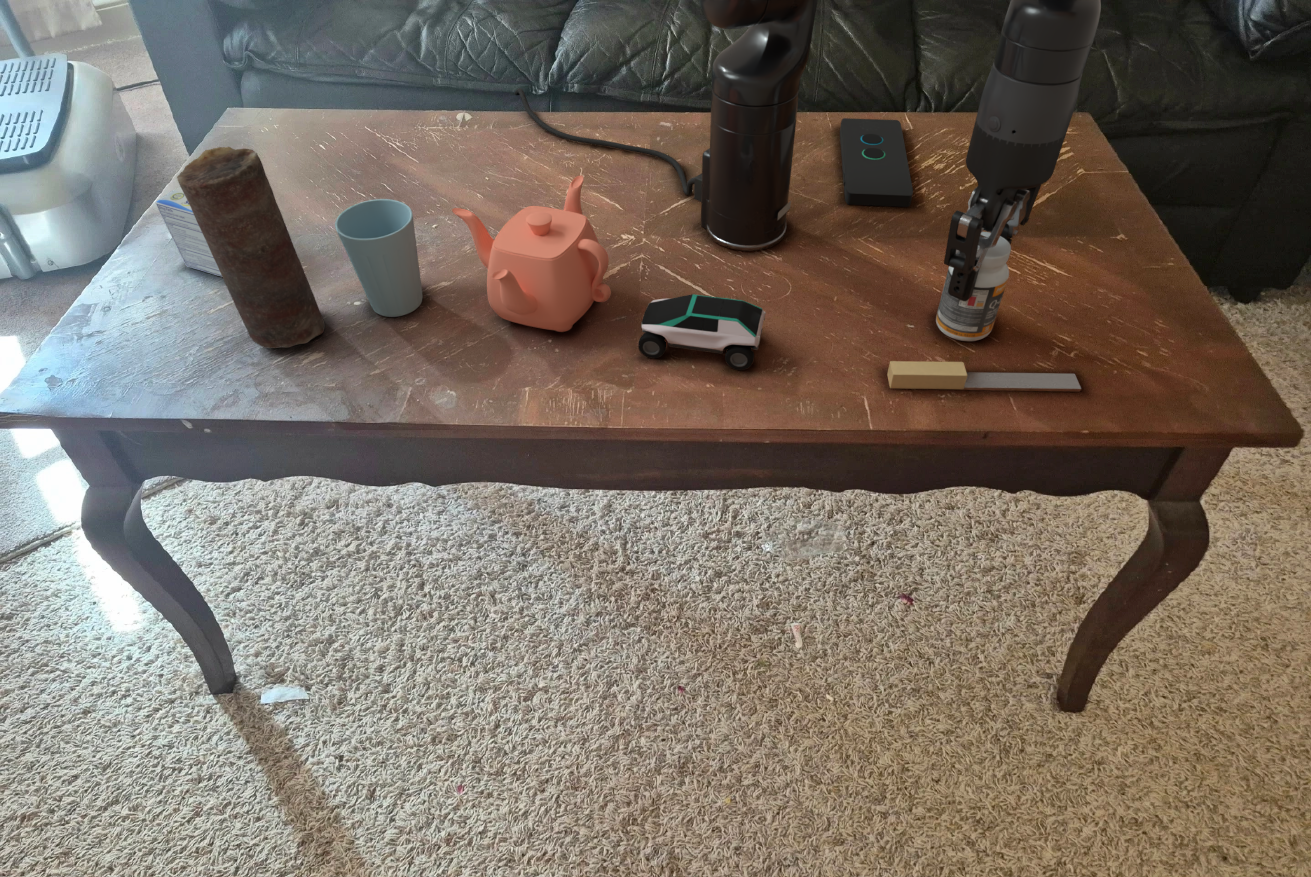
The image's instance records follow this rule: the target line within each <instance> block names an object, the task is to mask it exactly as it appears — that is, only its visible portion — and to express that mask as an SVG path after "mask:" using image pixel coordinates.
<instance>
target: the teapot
mask: <svg viewBox="0 0 1311 877" xmlns="http://www.w3.org/2000/svg"><path fill="white" fill-rule="evenodd" d="M584 180H585V179H584V176H583V175H577V176H575V177H574V178H573V179H572V181H570V184H569V186H568V188H567V193H566V197H565V200H564V206H563V209H559V208H554V207H547V206H541V205H528V206H526V207H524V208H522V209H521V210H519V211H518V212H517V213H515V214H514V215H513V216H512V217H511V218H510V219H509V220H507V222H506V223H505V224H504V225H503V227H501V229H500V230H499V231H498V233H497V234H496V236H495V238H493V237H492V236H491V235H490V233H489V231H488V230H487V228H486V226H485V224H484V223H483V221H482V220H481V219H480V218H479V217H478V216H477V215H476V214H475V213H474V212H472V211H470V210H468V209H465V208H460V207H454V208H452V209H451V212H452V213H453V214H454V215H456V216H457V217H458V218H460V219H461V221H463V222H464V224H465V225H466V226H467V228H468V230H469V232H470V235H471V237H472V241H473V244H474V247H475V251H476V254H477V256H478V258H479V260H480V262H481V263H482V265H483V266H484V267H485V269H487V273H486V274H487V275H486V276H487V277H486V290H487V300H488V302H489V306H490V307H491V310H493V311H494V313H495V314H496V315H497V316H498V317H499V318H501V319H502V320H503V319H504V320H506V321H509V322H512V323H516V324H519V325H523V326H527V327H531V328H532V327H533V328H538V329H543V330H549V331H555V332H559V333H564V332H569V331H570V330H571V329H572V328H573V325H574V324H575V323H577V322H578V321H579V320H580V319H581V318H582V317H583V316H584V315H585V314H586V313H587V312H588V311H589V309H590V308H591V307H592V305H593V304H594V302H596V303H604V302H606V301H608V300H609V298H610V297H611V293H612V290H611V288H610V286H609V285H608V284H606V283H603V281H604V277H605V275H606V273H607V270H608V267H609V262H610V260H609V259H610V258H609V254H608V251H607V250H606V248H605V247H603V245H601V244H600V242H599V240H598V237H597V235H596V233H595V231H594V228H593V226H592V224H591V222H590V221H589V218H588V217H587V216H585V215H584V214H583V208H582V202H581V196H582V194H581V193H582V188H583V184H584Z"/></svg>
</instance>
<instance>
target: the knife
mask: <svg viewBox="0 0 1311 877" xmlns="http://www.w3.org/2000/svg"><path fill="white" fill-rule="evenodd" d="M886 375H887V379H888V385H889V388H890V389H909V390H910V389H912V390H963V391H999V392H1000V391H1001V392H1002V391H1004V392H1005V391H1006V392H1009V391H1010V392H1016V391H1017V392H1072V393H1073V392H1076V393H1077V392H1078V393H1080V392H1081V391H1082V386H1081V385H1080V383H1079V382H1080V381H1079V380H1078V378H1077V376H1076V374H1075V373H1060V372H1059V373H1055V372H1054V373H1053V372H1052V373H1051V372H1050V373H1049V372H1048V373H1047V372H982V371H981V372H979V371H978V372H977V371H976V372H975V371H974V372H973V371H967V369H966V366H965V363H964V362H963V361H922V360H921V361H918V360H917V361H916V360H915V361H913V360H912V361H907V360H906V361H905V360H890V361H889V365H888V370H887V374H886Z"/></svg>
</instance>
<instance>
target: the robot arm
mask: <svg viewBox="0 0 1311 877" xmlns="http://www.w3.org/2000/svg"><path fill="white" fill-rule="evenodd" d="M697 1H698V5H699V8H700V10H701V13H702V14H703V16H704V18H705V19H706V20H707V21H708V23H710V24H712V25H713V26H714V27H717V28H720V29H723V30H724V29H725V30H737V29H738V30H739V29H745V28H747V29H746V31H744V32H743V34H742V35H741V36H740V37H738V38H737V39H736V40H735V41H734V42H733V43H731V44H730V45H728V46H727V47H726V48H724V49H723V50H722V51H720V52H719V53H718V54H717V56H716V57H715V58H714V61H713V63H712V66H711V80H710V81H711V83H710V84H711V85H710V86H711V88H710V90H711V91H710V126H709V127H710V131H709V147H708V148H707V149H706V150H704V151H703V153H702V156H701V157H702V158H701V159H702V160H701V173H699V174H698V175H696V176H695V177H691V178H689V179H688V180H687V178H686V174H685V172H684V170H683V168H682V166H681V165H680V163H679V162H678V161H677V160H676V159H675V158H673V156H670V155H669V154H667V153H664V152H661V151H658V150H655V149H651V148H647V147H641V146H635V145H629V144H624V143H619V142H614V141H609V140H603V139H597V138H590V137H584V136H577V135H573V134H569V133H566V132H563V131H560V130H558V129H556V128H553V127H551V126H550V125H549V124H547V123H546V122H544V121H543V120H542V119H541V118H539V116H538V115H537V114H536V113H535V112H534V111H533V110H532V109H531V107H530V104H529V102H528V100H527V97H526V96H527V95H526V94H525V92H524V90H523V89H522V88H520V87H519V88H517V89H516V90H515V91H514V95H515V96H519V97H520V100H521V103H522V105H523V108H524V110H525V112H526V114H527V115H528V116H529V117H530V118H531V119H532V120H533V121H534V123H536V124H537V125H538V126H539V127H540V128H542V130H545V131H546V132H548V133H550V134H551V135H553V136H556V137H559V138H561V139H563V140H568V141H571V142H576V143H581V144H588V145H595V146H602V147H606V148H612V149H617V150H622V151H626V152H632V153H639V154H643V155H647V156H654V157H656V158H658V159H661V160H664V161H665V162H667V163H669V164H670V165H672V166H673V167H674V169H675V170H676V172H677V174H678V177H679V180H680V182H681V186H682V190H683V193H684V195H686V196H691V195H692V194H693V199H694V200H695V201H698V202H699V203H700V204H701V206H700V227H702V228H704V229H705V230H706V232H707V235H708V237H709V238H710V239H711V240H712V241H714V242H715V243H717V244H718V245H720V246H721V247H724V248H727V249H730V250H736V251H746V252H751V251H752V252H753V251H761V250H765V249H768V248H771V247H774V246H775V245H777V244H779V243H780V242H781V241H782V240H783V239H784V237H785V236H786V233H787V215H788V211H789V210H790V209H791V205H792V204H791V203H792V201H791V200H790V201H789V196H790V186H791V177H792V166H793V158H794V156H793V155H794V148H795V137H796V126H797V117H798V116H797V115H798V106H799V96H800V87H801V86H800V85H801V78H802V76H803V73H804V71H805V70H806V67H807V66H808V65H807V64H808V62H809V57H810V52H811V44H812V38H813V31H814V25H815V19H816V13H817V6H818V0H697ZM1101 4H1102V3H1101V0H1010V2H1009V5H1008V8H1007V12H1006V14H1005V17H1004V20H1003V24H1002V28H1001V31H1000V35H999V39H998V42H997V48H996V51H995V55H994V60H993V63H992V66H991V69H990V71H989V74H988V76H987V78H986V80H985V84H984V87H983V89H982V93H981V98H980V100H979V106H978V109H977V113H976V117H975V121H974V125H973V128H972V132H971V137H970V140H969V145H968V149H967V153H966V157H965V166H966V168H967V170H968V171H969V173H970V174H971V175H972V176H973V177H974V179H975V180H976V182H977V186H976V187H975V188H974V189H973V190H972V193H971V194H970V197H969V198H968V202H967V206H968V208H967V210H966V212H964V211H961V210H958V209H957V210H955V211H954V213H953V214H952V215H951V218H950V223H949V224H950V225H949V230H948V235H947V236H948V237H947V241H946V248H945V253H944V260H943V264H944V265H946V266H948V267H949V266H950V267H952V268H954V269H953V273H952V277H951V280H950V284H949V288H948V293H949V294H950V295H951V296H953V297H955V298H957V299H960V300H962V301H967V300H968V299H969V298H970V297H971V296H972V294H973V290H974V287H975V283H976V280H977V276H978V273H979V270H980V267H981V265H982V262H983V260H984V257H985V255H986V253H987V251H988V249H989V248H993V247H995V246H996V244H997V242H998V239H999V237H1000V236H1001V237H1003V238H1004V239H1006V240H1007V241H1008V242H1009V244H1010V245H1011V244H1012V241H1013V240H1014V239H1015V238H1016V237H1017V236H1018V234H1019V232H1020V231H1019V230H1020V226H1023V227H1024V226H1025V225H1026V224H1027V223H1028V221H1029V220H1030V216H1031V214H1032V210H1033V209H1034V208H1033V207H1034V205H1035V202H1036V201H1037V197H1038V194H1039V193H1040V189H1041V187H1042V185H1043V184H1045V183H1047V182H1048V181H1049V180H1050V179H1051V177H1052V176H1053V174H1054V172H1055V169H1056V165H1057V164H1058V160H1059V157H1060V153H1061V151H1062V147H1063V145H1064V141H1065V139H1066V135H1067V133H1068V130H1069V127H1070V123H1071V121H1072V117H1073V114H1074V113H1075V112H1074V111H1075V108H1076V106H1077V102H1078V97H1079V93H1080V86H1081V82H1082V78H1083V74H1084V71H1085V68H1086V64H1087V62H1088V60H1089V56H1090V52H1091V51H1092V46H1093V43H1094V41H1095V37H1096V33H1097V30H1098V27H1099V23H1100V18H1101V10H1102V9H1101V8H1102V6H1101ZM693 186H694V187H693ZM693 192H694V193H693ZM982 232H989V233H991V235H990V236H989V237H985V236H983V235H981V233H982ZM978 245H979V250H978V252H977V249H978Z"/></svg>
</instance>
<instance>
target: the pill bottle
mask: <svg viewBox="0 0 1311 877" xmlns="http://www.w3.org/2000/svg"><path fill="white" fill-rule="evenodd" d="M981 235H983V236H985V237H989V236H990V235H991V233H990V232H987V231H983V232H982V233H981ZM978 250H979V245H978V249H977V252H978ZM1011 251H1012V245H1011V244H1009V242H1008V241H1007V240H1006V239H1004V238H1003V237H1001V236H1000V237H999V239H998V242H997V244H996V246H995V247H993V248H989V249H988V251H987V253H986V255H985V257H984V260H983V262H982V265H981V267H980V270H979V273H978V276H977V280H976V283H975V287H974V290H973V294H972V296H971V297H970V298H969V299H968V300H967V301H962V300H960V299H957V298H955V297H953V296H951V295H950V294H949V293H948V288H949V284H950V280H951V277H952V273H953V269H954V268H952V267H950V266H948V269H947V272H946V276H945V280H944V285H943V289H942V291H941V296H940V300H939V304H938V308H937V312H936V316H935V322H936V326H937V328H938V329H939V331H941V332H942V334H944V335H945V336H947V337H948V338H950V339H954V340H957V341H962V342H976V341H979V340H982V339H984V338H986V337H988V336H989V335H990V333H991V332H992V331H993V328H994V325H995V322H996V318H997V315H998V312H999V309H1000V305H1001V302H1002V299H1003V297H1004V294H1005V293H1004V292H1005V290H1006V287H1007V283H1008V282H1009V277H1010V269H1009V266H1008V264H1007V262H1008V260H1009V258H1010V255H1011Z"/></svg>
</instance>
